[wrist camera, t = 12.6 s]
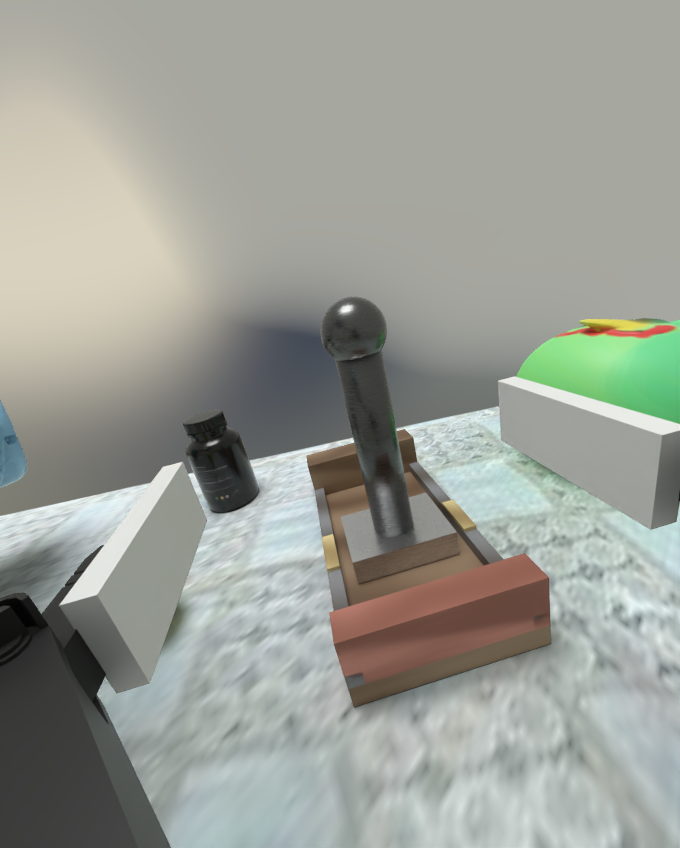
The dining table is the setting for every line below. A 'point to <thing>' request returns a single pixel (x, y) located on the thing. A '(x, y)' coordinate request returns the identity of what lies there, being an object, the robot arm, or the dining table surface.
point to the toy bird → (615, 364)
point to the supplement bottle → (219, 462)
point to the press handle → (379, 453)
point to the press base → (356, 500)
